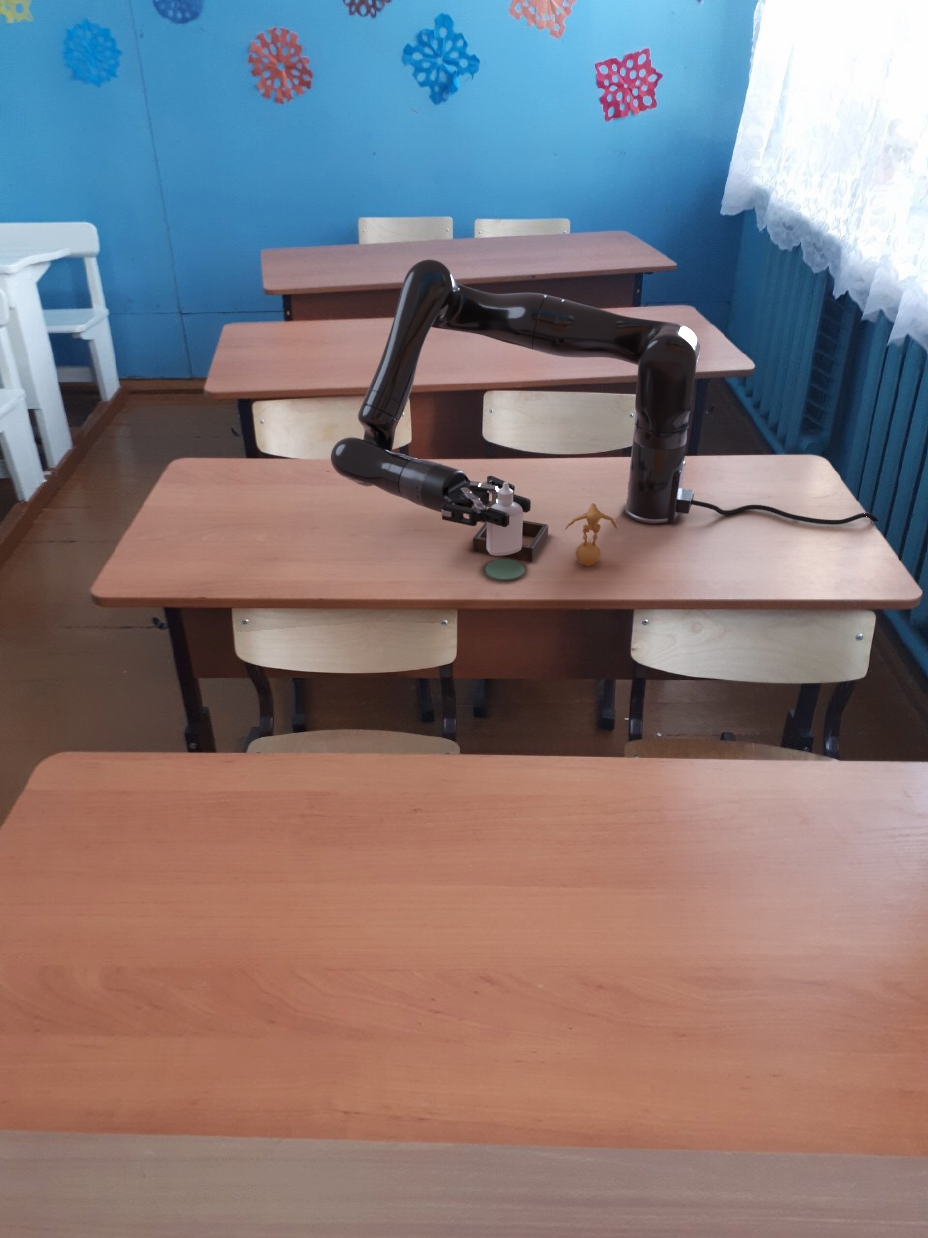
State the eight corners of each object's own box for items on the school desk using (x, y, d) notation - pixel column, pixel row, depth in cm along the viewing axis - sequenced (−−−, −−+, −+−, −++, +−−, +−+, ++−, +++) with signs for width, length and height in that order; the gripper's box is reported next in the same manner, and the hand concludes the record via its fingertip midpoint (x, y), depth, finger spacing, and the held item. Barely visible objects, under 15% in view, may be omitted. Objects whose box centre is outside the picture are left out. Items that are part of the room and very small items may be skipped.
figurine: (610, 557, 147) (616, 492, 140) (615, 575, 142) (622, 509, 135) (560, 558, 147) (564, 493, 140) (564, 576, 142) (568, 510, 135)
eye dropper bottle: (519, 558, 139) (522, 490, 133) (484, 555, 140) (485, 487, 133) (522, 545, 143) (525, 478, 136) (488, 542, 144) (489, 475, 137)
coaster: (529, 564, 145) (529, 562, 145) (517, 583, 140) (517, 581, 140) (493, 558, 147) (493, 556, 147) (480, 576, 142) (480, 574, 142)
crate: (547, 537, 153) (548, 524, 152) (532, 561, 146) (532, 548, 145) (490, 527, 156) (491, 515, 155) (473, 551, 149) (472, 538, 148)
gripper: (404, 480, 138) (493, 508, 129) (459, 450, 147) (544, 475, 139) (406, 522, 142) (492, 553, 133) (459, 491, 151) (542, 517, 143)
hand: (518, 513), depth 136 cm, fingers closed on eye dropper bottle, 5 cm apart
